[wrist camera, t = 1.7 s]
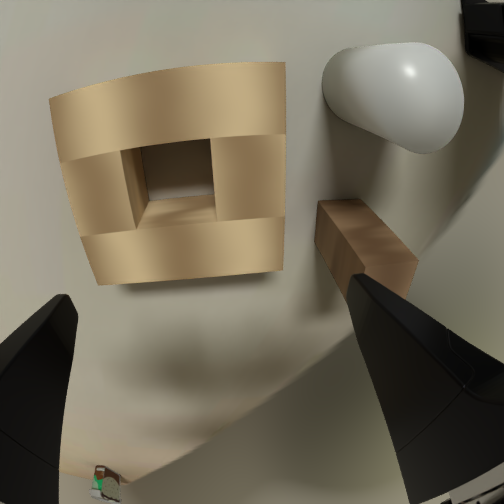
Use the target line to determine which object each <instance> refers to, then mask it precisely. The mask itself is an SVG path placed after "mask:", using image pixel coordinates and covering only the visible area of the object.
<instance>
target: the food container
mask: <svg viewBox="0 0 504 504" xmlns="http://www.w3.org/2000/svg"><path fill="white" fill-rule="evenodd" d="M89 492H90V495H91V497H92V498H95V499H97V500H101V501H104V502H108V503H112V504H121V499H120V474H118V473H116V472H114V471H113V470H111V469H109V468H108V467H106V466H102V465H97V466H96V468H95V473H94V479H93V484H92V489H89Z"/></svg>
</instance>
